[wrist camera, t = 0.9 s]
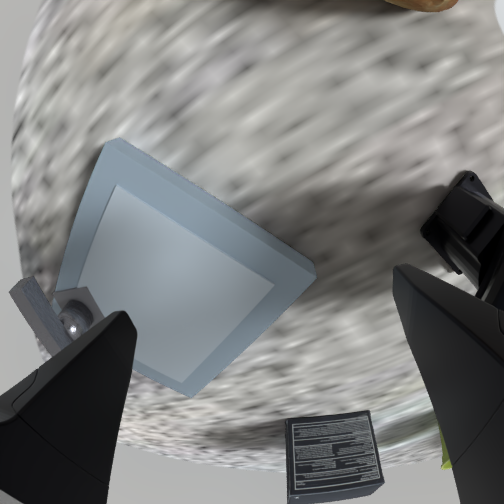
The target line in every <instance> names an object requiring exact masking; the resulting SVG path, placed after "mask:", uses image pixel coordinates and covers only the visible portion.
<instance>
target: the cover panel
mask: <svg viewBox="0 0 504 504" xmlns="http://www.w3.org/2000/svg"><path fill="white" fill-rule="evenodd" d="M316 278H317V275H316V271H315V267H314V263H313V262H312V261H310V260H309V259H307V258H306V257H305V256H303V255H302V254H300V253H299V252H297V251H296V250H294V249H293V248H291V247H290V246H288V245H287V244H285V243H284V242H282V241H281V240H279V239H278V238H276V237H275V236H273V235H272V234H270V233H269V232H267V231H266V230H264V229H263V228H261V227H260V226H258V225H257V224H255V223H254V222H252V221H251V220H249V219H248V218H246V217H245V216H243V215H242V214H240V213H238V212H237V211H235V210H234V209H232V208H231V207H229V206H228V205H226V204H225V203H223V202H222V201H220V200H218V199H217V198H215V197H214V196H212V195H211V194H209V193H208V192H206V191H204V190H203V189H201V188H200V187H198V186H197V185H195V184H194V183H192V182H190V181H189V180H187V179H186V178H184V177H183V176H181V175H179V174H178V173H176V172H175V171H173V170H171V169H170V168H168V167H167V166H165V165H163V164H162V163H160V162H159V161H157V160H155V159H154V158H152V157H151V156H149V155H147V154H146V153H144V152H143V151H141V150H139V149H138V148H136V147H135V146H133V145H131V144H130V143H128V142H126V141H125V140H123V139H121V138H117V139H114V140H111V141H108V142H106V143H105V145H104V147H103V149H102V152H101V154H100V156H99V158H98V161H97V163H96V165H95V168H94V170H93V172H92V175H91V177H90V180H89V182H88V185H87V187H86V190H85V193H84V195H83V198H82V201H81V203H80V206H79V209H78V212H77V215H76V218H75V221H74V224H73V227H72V230H71V233H70V236H69V240H68V243H67V246H66V250H65V253H64V257H63V261H62V264H61V268H60V272H59V276H58V280H57V284H56V289H55V291H54V292H53V293H52V295H53V296H54V298H53V303H52V308H53V310H54V312H55V313H56V315H57V316H58V314H59V313H60V312H61V310H62V309H63V308H64V306H65V305H66V304H67V302H68V301H70V300H77V301H80V302H81V303H83V304H84V305H86V306H87V307H88V308H89V310H90V311H91V313H92V315H93V318H94V321H93V323H92V325H91V327H90V328H92V327H93V326H94V325H96V324H97V323H99V322H100V321H101V320H103V319H104V318H105V317H107V316H108V315H109V314H111V313H112V312H114V311H121V310H124V311H126V312H127V313H128V315H129V317H130V318H131V320H132V322H133V324H134V326H135V327H136V329H137V334H138V336H137V342H136V349H135V355H134V361H133V368H132V369H133V370H135V371H137V372H139V373H141V374H143V375H144V376H146V377H148V378H150V379H152V380H154V381H156V382H158V383H160V384H162V385H164V386H166V387H169V388H171V389H173V390H175V391H177V392H179V393H181V394H184V395H186V396H188V397H190V398H192V397H193V396H195V395H196V394H197V393H198V392H199V391H200V390H201V389H202V388H204V387H205V386H206V385H207V384H208V383H209V382H210V381H211V380H213V379H214V378H215V377H216V376H217V375H218V374H219V373H220V372H221V371H223V370H224V369H225V368H226V367H227V366H228V365H229V364H230V363H231V362H232V361H233V360H234V359H236V358H237V357H238V356H239V355H240V354H241V353H242V352H243V351H244V350H245V349H246V348H247V347H248V346H249V345H250V344H251V343H252V342H254V341H255V340H256V339H257V338H258V337H259V336H260V335H261V334H262V333H263V332H264V331H265V330H266V329H267V328H268V327H269V326H270V325H271V324H272V323H273V322H274V321H275V320H276V319H277V318H278V317H279V316H280V315H281V314H282V313H283V312H284V311H285V310H286V309H287V308H288V307H289V306H290V305H291V304H292V303H293V302H294V301H295V300H296V299H297V298H298V297H299V296H300V295H301V294H302V293H303V292H304V291H305V290H306V289H307V288H308V287H309V286H310V285H311V284H312V283H313V282H314V280H315V279H316ZM90 328H89V329H90Z"/></svg>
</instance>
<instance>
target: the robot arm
mask: <svg viewBox="0 0 504 504" xmlns="http://www.w3.org/2000/svg"><path fill="white" fill-rule="evenodd" d="M470 176H472V178H471V180H470ZM427 230H429V231H428V233H426V231H427ZM421 235H422V236H423V237H424V238H425V239H426V240H427V241H428V242H429V243H430V244H431V246H432V247H433V248H434V249H435V250H436V251H437V252H438V253H439V254H440V255H441V256H442V257H443V259H444V260H445V261H446V262H447V263H448V264H449V265H450V266H451V268H452V269H453V270H454V271H455V272H456V273H457V274H458V275H460V274H462V273H464V275H465V276H466V277H467V278H468V279H469V280H470V282H471V283H472V284H473V285H474V286H475V287H476V289H477V290H478V291H477V293H476V295H475V296H473V295H471V294H469V293H467V292H465V291H463V290H461V289H459V288H457V287H455V286H453V285H451V284H449V283H447V282H445V281H443V280H441V279H439V278H437V277H435V276H433V275H431V274H429V273H427V272H424V271H422V270H420V269H418V268H416V267H414V266H412V265H410V264H407V263H405V264H401V265H396V266H395V267H394V269H393V297H394V300H395V303H396V306H397V309H398V313H399V316H400V319H401V322H402V325H403V329H404V332H405V335H406V338H407V341H408V344H409V346H410V349H411V351H412V354H413V356H414V358H415V361H416V363H417V366H418V368H419V371H420V373H421V376H422V378H423V381H424V384H425V386H426V389H427V392H428V394H429V397H430V400H431V402H432V405H433V408H434V411H435V414H436V417H437V420H438V423H439V426H440V429H441V432H442V435H443V438H444V442H445V445H446V448H447V452H448V455H449V459H450V462H451V465H452V470H453V474H454V478H455V482H456V486H457V490H458V494H459V499H460V504H504V208H502V207H501V206H499V205H498V204H496V203H495V202H494V201H493V200H492V198H491V196H490V195H489V193H488V192H487V190H486V189H485V187H484V185H483V184H482V182H481V181H480V179H479V178H478V176H477V175H476V174H475V173H474V172H472V171H467V172H466V173H465V175H464V176H463V177H462V179H461V180H460V181H459V183H458V184H457V185H456V186H455V187H454V189H453V190H452V191H451V192H450V194H449V195H448V196H447V197H446V199H445V200H444V201H443V202H442V204H441V205H440V206H439V207H438V209H437V210H436V211H435V212H434V214H433V215H432V216H431V217H430V218H429V220H428V221H427V222H426V223H425V224H424V225H423V227H422V228H421ZM137 336H138V334H137V329H136V327H135V326H134V324H133V322H132V320H131V318H130V317H129V315H128V313H127V312H126V311H124V310H121V311H114V312H112V313H111V314H109V315H108V316H107V317H105V318H104V319H103V320H101V321H100V322H99V323H97V324H96V325H94V326H93V327H92V328H90V329H89V330H88V331H86V332H85V333H84V334H82V335H81V336H80V337H78V338H77V339H76V340H74V341H73V342H72V343H70V344H69V345H68V346H66V347H65V348H64V349H62V350H61V351H60V352H58V353H57V354H56V355H54V356H53V357H52V358H50V359H49V360H48V361H47V362H45V363H44V364H43V365H41V366H40V367H39V369H36V370H35V371H34V372H32V373H31V374H30V375H28V376H27V377H26V378H24V379H23V380H22V381H20V382H19V383H18V384H16V385H15V386H13V387H12V388H11V389H9V390H8V391H7V392H5V393H4V394H2V395H1V396H0V504H106V503H107V497H108V490H109V486H108V485H109V481H110V475H111V469H112V464H113V458H114V452H115V447H116V442H117V437H118V432H119V427H120V422H121V418H122V413H123V409H124V404H125V400H126V396H127V391H128V387H129V383H130V379H131V374H132V368H133V361H134V355H135V349H136V342H137Z"/></svg>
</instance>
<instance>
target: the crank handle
mask: <svg viewBox="0 0 504 504" xmlns="http://www.w3.org/2000/svg"><path fill="white" fill-rule="evenodd" d="M9 293H10V295H11V297H12V299H13V300H14V302H15V303H16V305H17V307H18V308H19V310H20V312H21V313H22V315H23V316H24V318H25V319H26V321H27V322H28V324H29V325H30V327H31V328H32V330H33V331H34V333H35V334H36V335H37V337H38V338H39V340H40V341H41V342H42V344H43V345H44V347H45V348H46V349H47V351H48V352H49V353H50V355H51V356H52V357H53V356H54V355H56V354H57V353H58V352H60V351H61V350H62V349H64V348H65V347H66V346H68V345H69V344H70V343H72V342H73V341H74V340H76V339H77V338H78V337H80V336H81V335H82V334H84V333H85V332H86V331H88V330H89V328H90V327H91V325H92V323H93V321H94V318H93V315H92V313H91V311H90V310H89V308H88V307H87V306H86V305H84V304H83V303H81V302H80V301H77V300H70V301H68V302H67V304H66V305H65V306H64V308H63V309H62V310H61V312H60V313H59V314H58V316H57V315H56V313H55V312H54V310H53V308H52V307H51V305H50V304H49V302H48V300H47V299H46V297H45V295H44V293H43V292H42V290H41V288H40V286H39V285H38V283H37V281H36V279H35V278H34V276H32V277H28V278H25V279H21V280H20V281H19V282H18V283H17V284H16V285H15V286H14V287H13V288H12V289H11V290H10V291H9Z"/></svg>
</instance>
